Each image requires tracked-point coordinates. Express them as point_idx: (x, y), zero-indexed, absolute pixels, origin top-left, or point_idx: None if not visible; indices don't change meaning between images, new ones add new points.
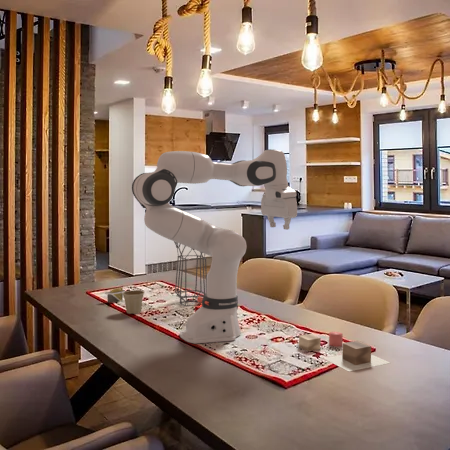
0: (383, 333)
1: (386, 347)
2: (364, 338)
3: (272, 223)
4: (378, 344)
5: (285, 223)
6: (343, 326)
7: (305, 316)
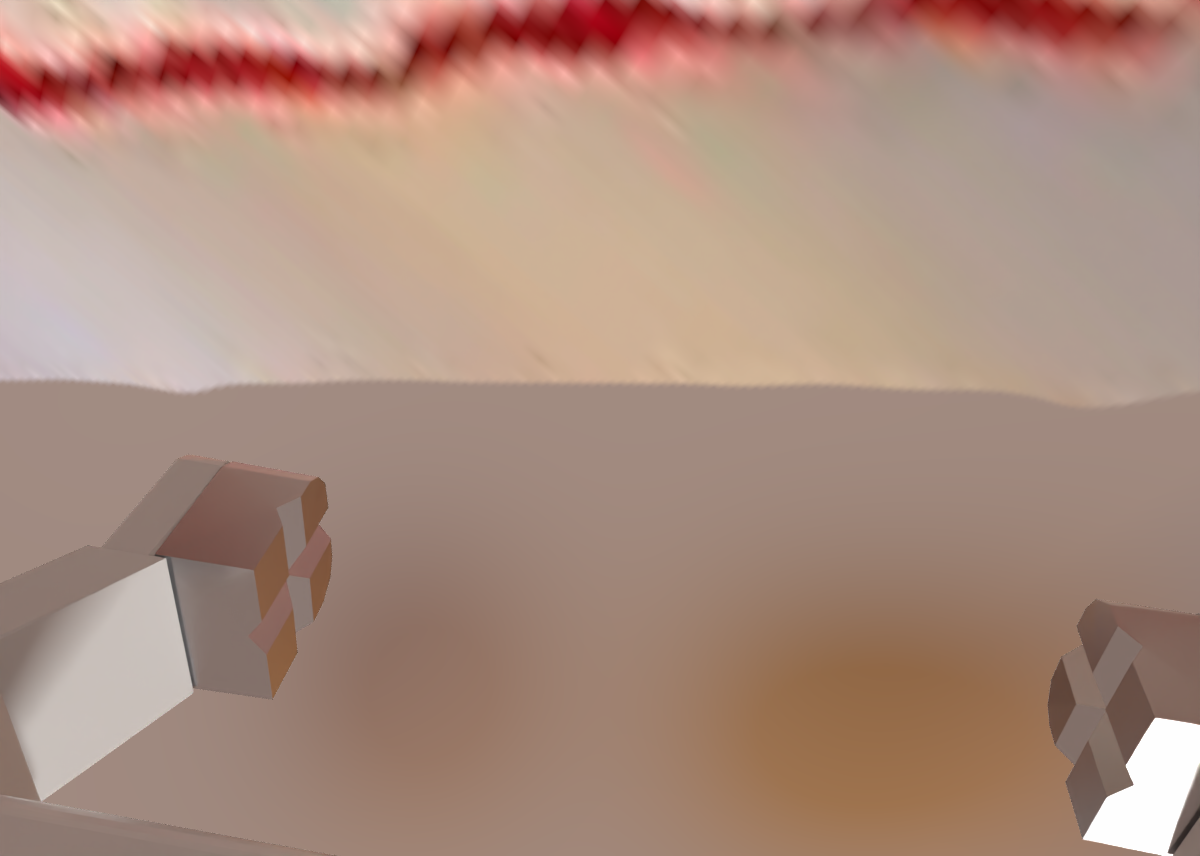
0: (264, 370)
1: (17, 183)
2: (209, 211)
3: (1133, 726)
4: (79, 189)
5: (17, 582)
6: (485, 298)
7: (840, 270)
